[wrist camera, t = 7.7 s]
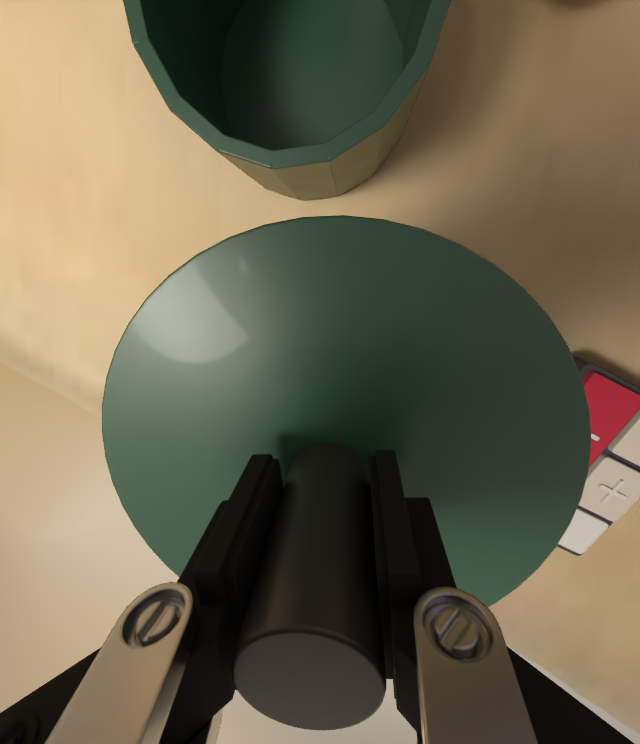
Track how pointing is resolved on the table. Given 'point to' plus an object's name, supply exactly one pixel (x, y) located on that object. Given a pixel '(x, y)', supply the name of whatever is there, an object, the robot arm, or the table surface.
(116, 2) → the table surface
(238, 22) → the tin
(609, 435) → the grey red flat block
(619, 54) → the table surface
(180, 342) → the tin lid
